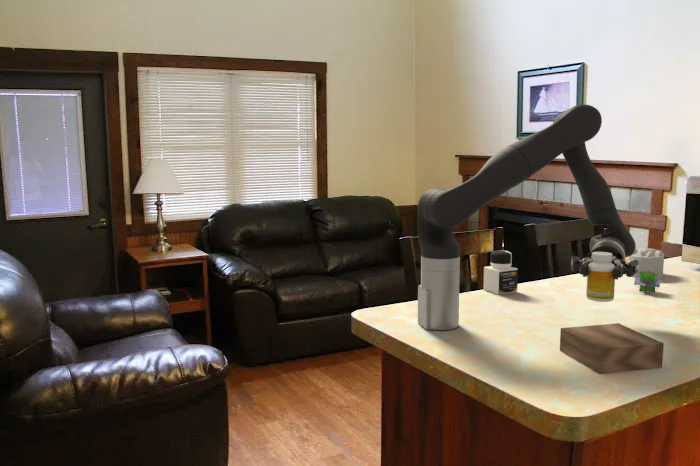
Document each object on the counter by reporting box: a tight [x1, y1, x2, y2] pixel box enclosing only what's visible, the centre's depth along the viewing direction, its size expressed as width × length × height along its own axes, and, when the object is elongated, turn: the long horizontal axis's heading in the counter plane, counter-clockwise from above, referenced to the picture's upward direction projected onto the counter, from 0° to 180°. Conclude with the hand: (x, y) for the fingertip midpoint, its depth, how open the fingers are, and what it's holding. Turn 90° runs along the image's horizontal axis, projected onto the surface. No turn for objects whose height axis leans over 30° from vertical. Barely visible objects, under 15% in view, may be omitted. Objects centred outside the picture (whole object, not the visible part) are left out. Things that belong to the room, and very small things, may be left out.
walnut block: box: [559, 322, 665, 375], centre depth 130 cm, size 14×14×5 cm
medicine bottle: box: [483, 249, 519, 296], centre depth 188 cm, size 7×7×12 cm
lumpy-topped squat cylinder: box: [627, 247, 665, 279], centre depth 207 cm, size 10×13×9 cm
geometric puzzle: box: [633, 270, 662, 295], centre depth 185 cm, size 7×7×8 cm
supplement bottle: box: [585, 252, 616, 303], centre depth 132 cm, size 5×5×10 cm
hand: (600, 273), depth 129 cm, fingers closed on supplement bottle, 5 cm apart
